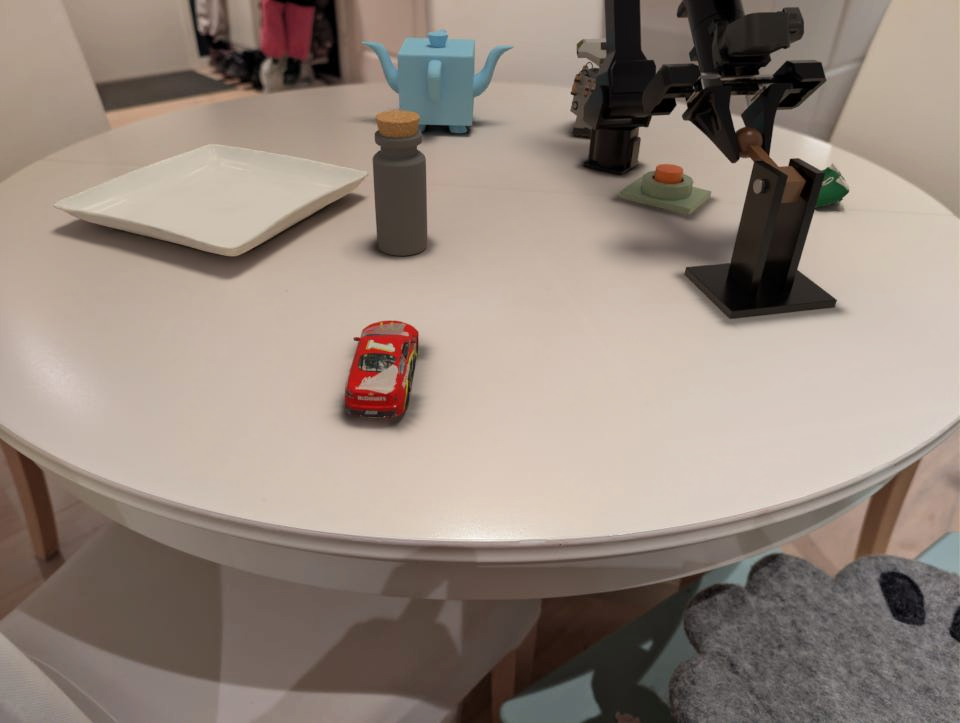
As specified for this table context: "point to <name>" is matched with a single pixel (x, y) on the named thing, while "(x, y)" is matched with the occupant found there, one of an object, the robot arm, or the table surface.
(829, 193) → the green carton
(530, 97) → the table surface
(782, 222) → the bracket
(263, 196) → the square plate
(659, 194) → the button block
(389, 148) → the bottle
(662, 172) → the button
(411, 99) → the teakettle
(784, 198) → the lever
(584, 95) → the figurine
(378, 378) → the race car
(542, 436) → the table surface
